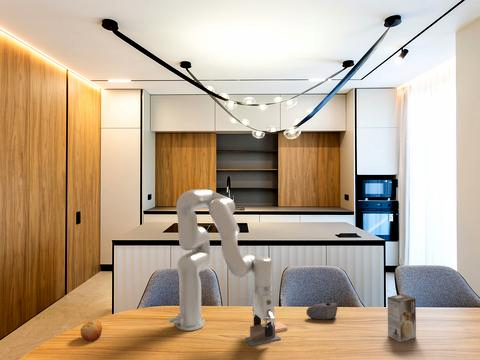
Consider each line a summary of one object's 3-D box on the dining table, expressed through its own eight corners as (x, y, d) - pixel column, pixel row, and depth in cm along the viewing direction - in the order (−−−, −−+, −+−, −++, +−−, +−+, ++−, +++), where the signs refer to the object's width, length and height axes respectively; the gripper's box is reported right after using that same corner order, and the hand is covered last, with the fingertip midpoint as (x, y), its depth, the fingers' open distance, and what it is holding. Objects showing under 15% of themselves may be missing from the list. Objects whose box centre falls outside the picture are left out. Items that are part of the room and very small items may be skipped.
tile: (266, 328, 143) (273, 334, 137) (266, 324, 143) (273, 330, 137) (280, 325, 146) (287, 331, 140) (280, 321, 146) (287, 327, 140)
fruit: (109, 330, 137) (102, 317, 133) (97, 347, 131) (90, 335, 127) (94, 327, 140) (86, 315, 136) (82, 344, 133) (73, 332, 129)
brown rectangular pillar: (275, 336, 133) (275, 324, 133) (252, 341, 129) (252, 329, 129) (272, 334, 135) (272, 322, 135) (250, 339, 131) (250, 326, 131)
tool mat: (251, 346, 126) (251, 344, 126) (245, 339, 132) (245, 337, 132) (280, 339, 132) (280, 338, 132) (273, 333, 137) (273, 331, 137)
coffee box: (402, 331, 139) (402, 293, 139) (416, 337, 133) (416, 298, 133) (387, 335, 135) (387, 296, 135) (400, 342, 129) (400, 302, 129)
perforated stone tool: (307, 321, 149) (307, 305, 149) (305, 316, 154) (305, 301, 154) (340, 320, 149) (340, 305, 149) (336, 316, 154) (336, 301, 154)
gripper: (282, 294, 125) (282, 338, 125) (261, 281, 141) (261, 320, 141) (264, 297, 122) (264, 342, 122) (245, 283, 138) (245, 324, 138)
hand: (262, 331), depth 132 cm, fingers open, 9 cm apart
